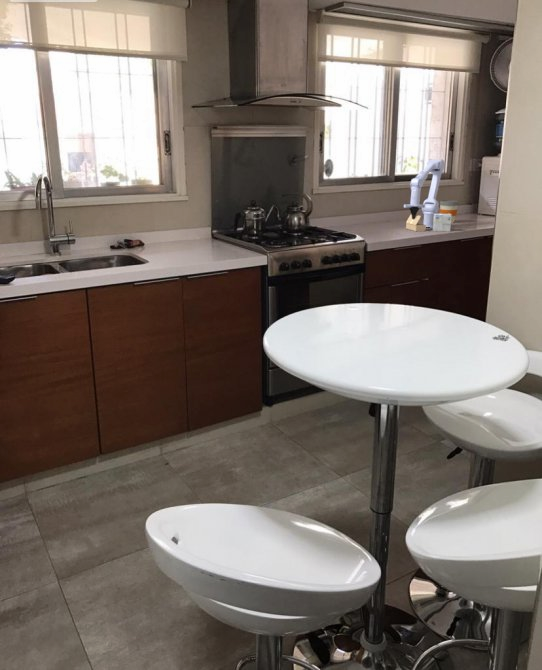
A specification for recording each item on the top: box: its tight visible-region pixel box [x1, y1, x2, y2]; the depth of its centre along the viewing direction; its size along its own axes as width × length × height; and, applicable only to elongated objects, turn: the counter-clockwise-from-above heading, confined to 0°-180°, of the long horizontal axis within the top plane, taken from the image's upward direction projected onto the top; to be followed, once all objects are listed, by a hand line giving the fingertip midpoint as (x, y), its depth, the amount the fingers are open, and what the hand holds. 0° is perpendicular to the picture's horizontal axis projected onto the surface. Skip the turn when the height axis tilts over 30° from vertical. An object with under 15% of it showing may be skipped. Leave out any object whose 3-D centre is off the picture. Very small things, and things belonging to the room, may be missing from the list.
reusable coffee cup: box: [439, 199, 459, 223], centre depth 422 cm, size 13×13×15 cm
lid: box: [405, 214, 422, 225], centre depth 385 cm, size 13×6×1 cm
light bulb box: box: [432, 213, 452, 232], centre depth 384 cm, size 11×7×11 cm, turn 84°
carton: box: [405, 222, 427, 232], centre depth 387 cm, size 13×7×4 cm, turn 17°
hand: (413, 219), depth 385 cm, fingers closed, pressing on lid
